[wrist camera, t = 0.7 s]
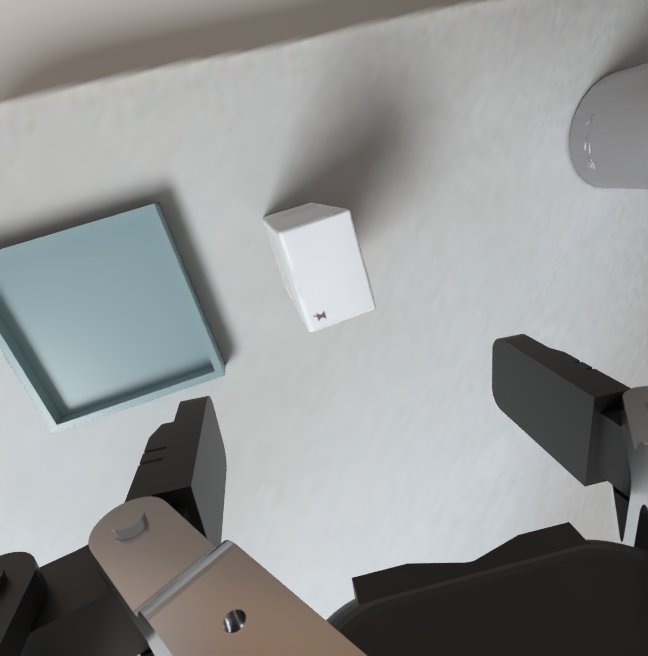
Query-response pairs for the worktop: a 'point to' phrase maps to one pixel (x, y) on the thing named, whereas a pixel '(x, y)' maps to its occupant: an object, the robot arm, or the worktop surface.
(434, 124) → the worktop surface
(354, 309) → the skincare box
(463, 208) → the worktop surface
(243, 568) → the robot arm
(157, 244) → the tray
